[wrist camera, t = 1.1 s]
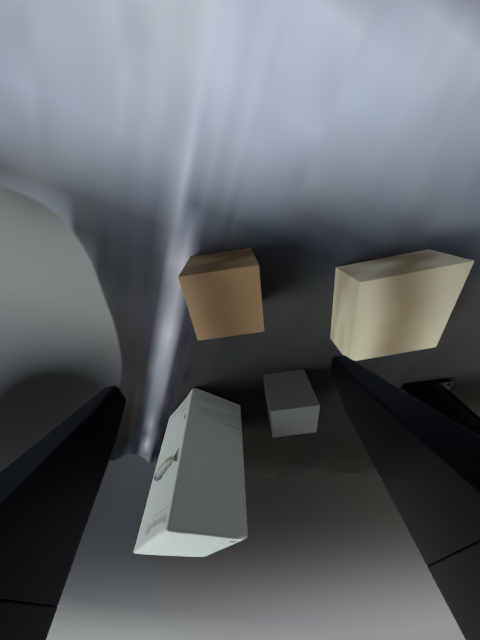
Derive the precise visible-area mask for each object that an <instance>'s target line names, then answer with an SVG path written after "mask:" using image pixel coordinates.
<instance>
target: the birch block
mask: <svg viewBox="0 0 480 640" xmlns="http://www.w3.org/2000/svg"><path fill="white" fill-rule="evenodd" d="M473 263H474V260H470V259H466V258H462V257H458V256H454V255H450V254H446V253H442V252H438V251H434V250H430V249H428V250H422V251H417V252H412V253H407V254H402V255H397V256H391V257H386V258H381V259H376V260H371V261H365V262H360V263H355V264H350V265H345V266H339V267H336V272H335V285H334V297H333V310H332V323H331V336H330V338H331V340H332V341H333V342H334V344H335V345H336V346H337V348H338V349H339V350H340V352H341V353H342V354H343V355H345V356H347V357H348V358H350V359H352V360H353V361H358V360H363V359H369V358H375V357H381V356H387V355H392V354H398V353H404V352H410V351H416V350H422V349H427V348H433V347H436V346H437V344H438V341H439V339H440V337H441V335H442V333H443V330H444V328H445V326H446V324H447V321H448V319H449V317H450V315H451V312H452V310H453V308H454V306H455V303H456V301H457V299H458V297H459V295H460V292H461V290H462V288H463V286H464V283H465V281H466V279H467V277H468V274H469V272H470V270H471V268H472V265H473Z"/></svg>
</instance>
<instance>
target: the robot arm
mask: <svg viewBox="0 0 480 640" xmlns="http://www.w3.org/2000/svg"><path fill="white" fill-rule="evenodd" d="M331 376H332V378H333V381H334V383H335V386H336V388H337V391H338V393H339V396H340V398H341V401H342V403H343V406H344V408H345V411H346V413H347V415H348V417H349V419H350V421H351V422H352V424H353V426H354V428H355V430H356V432H357V434H358V436H359V438H360V440H361V441H362V443H363V445H364V447H365V449H366V451H367V453H368V455H369V457H370V458H371V460H372V462H373V464H374V466H375V468H376V470H377V472H378V474H379V475H380V477H381V479H382V481H383V483H384V485H385V487H386V489H387V491H388V493H389V494H390V496H391V498H392V500H393V502H394V504H395V506H396V508H397V510H398V512H399V513H400V515H401V517H402V519H403V521H404V523H405V525H406V526H407V528H408V530H409V532H410V534H411V536H412V538H413V540H414V542H415V544H416V546H417V548H418V549H419V551H420V553H421V555H422V557H423V559H424V561H425V563H426V564H427V565H428V569H429V571H430V572H431V574H432V576H433V578H434V580H435V582H436V584H437V586H438V588H439V590H440V591H441V593H442V595H443V597H444V599H445V601H446V603H447V605H448V607H449V609H450V610H451V612H452V614H453V616H454V618H455V620H456V622H457V624H458V626H459V628H460V629H461V631H462V633H463V635H464V637H465V639H466V640H480V417H478V416H477V415H476V414H475V413H474V412H473V411H472V410H470V409H469V408H468V407H467V406H466V405H465V404H464V403H462V402H461V401H460V400H459V399H458V398H457V397H456V396H454V395H453V394H452V393H451V392H450V391H449V389H450V388H451V386H452V385H453V381H451V380H450V379H446V380H439V381H431V382H423V383H415V384H408V385H404V386H402V387H401V389H400V388H398V387H396V386H395V385H393V384H391V383H390V382H388V381H386V380H385V379H383V378H382V377H380V376H378V375H377V374H375V373H373V372H372V371H370V370H368V369H367V368H365V367H363V366H362V365H360V364H358V363H357V362H355V361H353V360H352V359H350V358H348V357H347V356H345V355H339V356H334V357H333V359H332V365H331ZM125 403H126V399H125V397H124V395H123V394H122V392H121V391H120V390H119V388H118V387H117V386H109V387H105V388H103V389H102V390H101V391H100V392H98V393H97V394H96V395H95V396H94V397H92V398H91V399H90V400H89V401H87V402H86V403H85V404H84V405H82V406H81V407H80V408H79V409H78V410H76V411H75V412H74V413H72V414H71V415H70V416H69V417H67V418H66V419H65V420H64V421H62V422H61V423H60V424H59V425H58V426H56V427H55V428H54V429H53V430H51V431H50V432H49V433H48V434H46V435H45V436H44V437H43V438H41V439H40V440H39V441H38V442H36V443H35V444H34V445H33V446H32V447H30V448H29V449H28V450H27V451H25V452H24V453H23V454H22V455H21V456H19V457H18V458H17V459H15V460H14V461H13V462H12V463H10V464H9V465H8V466H7V467H6V468H4V469H3V470H2V471H1V472H0V640H46V638H47V634H48V632H49V629H50V626H51V623H52V621H53V618H54V615H55V612H56V610H57V605H58V603H59V601H60V597H61V595H62V592H63V589H64V586H65V584H66V581H67V578H68V575H69V572H70V570H71V566H72V564H73V561H74V558H75V555H76V553H77V550H78V547H79V544H80V541H81V538H82V536H83V533H84V530H85V527H86V524H87V521H88V519H89V515H90V513H91V510H92V507H93V505H94V502H95V499H96V496H97V493H98V491H99V488H100V485H101V482H102V479H103V476H104V474H105V471H106V468H107V465H108V462H109V460H110V457H111V454H112V451H113V448H114V445H115V442H116V439H117V435H118V432H119V428H120V424H121V420H122V416H123V412H124V408H125Z"/></svg>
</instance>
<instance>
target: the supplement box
mask: <svg viewBox="0 0 480 640" xmlns="http://www.w3.org/2000/svg"><path fill="white" fill-rule="evenodd" d="M247 536H248V534H247V517H246V497H245V480H244V462H243V444H242V427H241V409H240V405H238V404H236V403H233V402H231V401H228V400H226V399H223V398H221V397H218V396H216V395H213V394H210V393H208V392H205V391H202V390H200V389H197V388H193V389H192V390H191V392H190V393H189V395H188V396H187V397H186V399H185V400H184V401H183V402H182V404H181V405H180V406H179V407H178V408H177V410H176V411H175V412H174V413H173V414H172V415H171V416H170V418H169V421H168V425H167V429H166V432H165V436H164V440H163V443H162V447H161V451H160V454H159V458H158V462H157V466H156V470H155V473H154V477H153V481H152V485H151V488H150V492H149V496H148V500H147V504H146V508H145V512H144V516H143V519H142V523H141V526H140V530H139V534H138V538H137V542H136V545H135V549H134V553H136V554H148V555H165V556H192V557H205V556H207V555H209V554H212V553H214V552H216V551H219V550H221V549H223V548H225V547H228V546H230V545H232V544H235V543H237V542H240V541H242V540H244V539H246V538H247Z"/></svg>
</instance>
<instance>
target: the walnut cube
mask: <svg viewBox="0 0 480 640" xmlns="http://www.w3.org/2000/svg"><path fill="white" fill-rule="evenodd" d="M179 281H180V284H181V287H182V290H183V294H184V297H185V300H186V303H187V307H188V310H189V313H190V316H191V320H192V323H193V326H194V329H195V333H196V336H197V339H198V341H199V340H206V339H213V338H220V337H228V336H235V335H242V334H250V333H257V332H264V321H263V309H262V296H261V283H260V270H259V264H258V262H257V260H256V257H255V255H254V253H253V251H252V249H251V248H245V249H238V250H231V251H224V252H218V253H211V254H204V255H197V256H191V257H190V259H189V260H188V262H187V263H186V265H185V267H184V268H183V270H182V272H181V273H180V275H179Z"/></svg>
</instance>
